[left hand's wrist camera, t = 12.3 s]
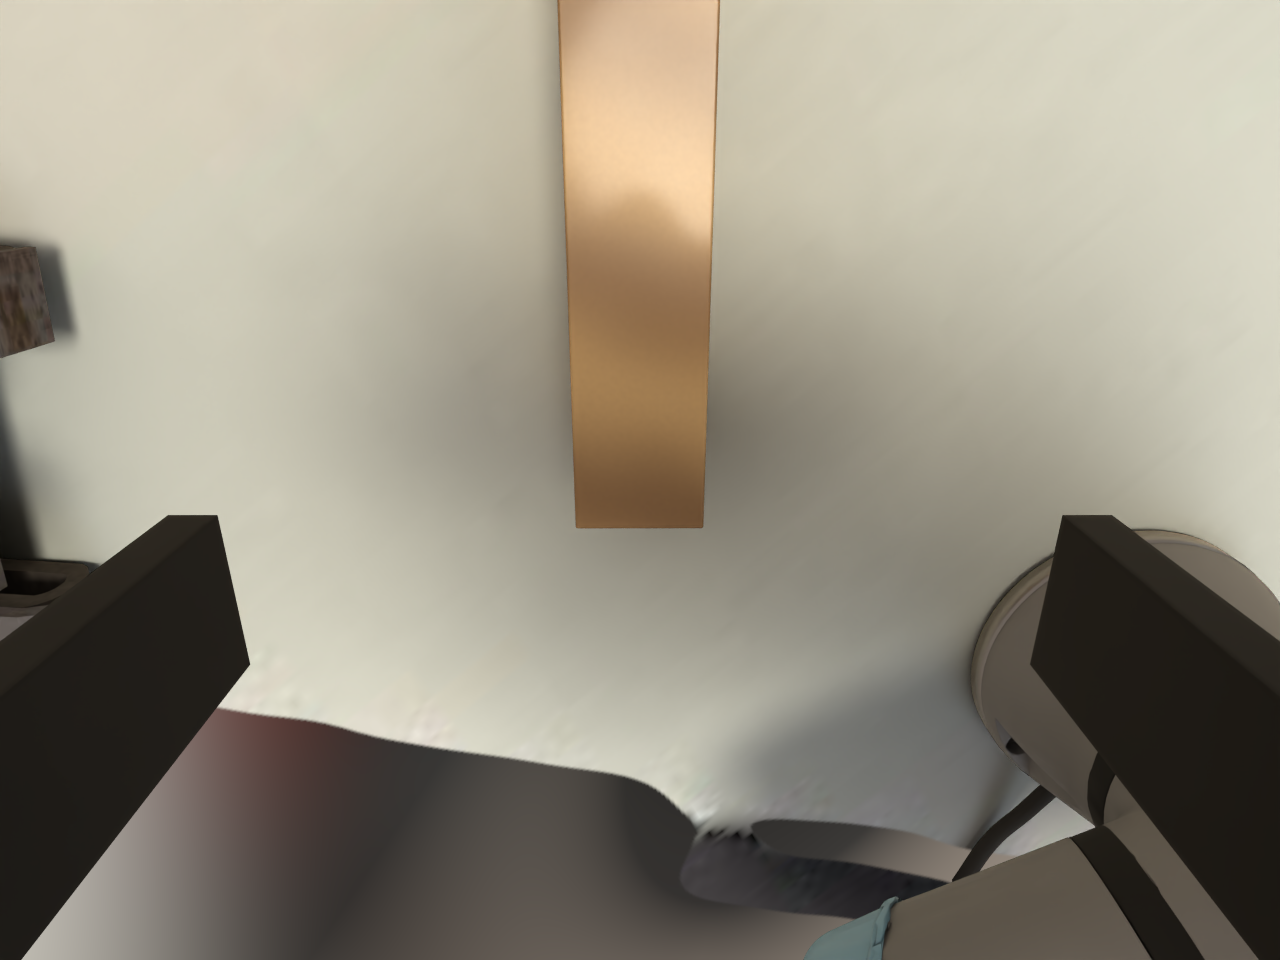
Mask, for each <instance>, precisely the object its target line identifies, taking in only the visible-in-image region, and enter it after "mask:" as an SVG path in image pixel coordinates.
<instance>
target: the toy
mask: <svg viewBox="0 0 1280 960" xmlns="http://www.w3.org/2000/svg"><path fill="white" fill-rule="evenodd" d="M54 341H55V339H54V335H53V330H52V325H51V320H50V315H49V310H48V306H47V301H46V296H45V291H44V286H43V281H42V277H41V272H40V267H39V262H38V257H37V252H36V248H35V247H21V248H14V247H11V246H1V245H0V358H3V357H6V356H9V355H12V354H16V353H19V352H22V351H25V350H28V349H32V348H35V347H38V346H41V345H44V344H48V343H51V342H54ZM88 575H89V571H88V567H87V566H85V565H84V564H77V563H62V562H46V561H31V560H16V559H0V641H1V640H2V639H4V638H5V637H6V636H8V635H9V634H10V633H12V632H13V631H14V630H16V629H17V628H18V627H20V626H21V625H22V624H24V623H25V622H26V621H28V620H29V619H30V618H32V617H33V616H34V615H36V614H37V613H38V612H40V611H41V610H42V609H44V608H45V607H46V606H48V605H49V604H50V603H52V602H53V601H54V600H56V599H57V598H58V597H60V596H61V595H62V594H64V593H65V592H66V591H68V590H69V589H70V588H72V587H73V586H74V585H76V584H77V583H78V582H80V581H81V580H82V579H84V578H85V577H86V576H88Z"/></svg>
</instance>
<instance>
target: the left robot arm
mask: <svg viewBox="0 0 1280 960" xmlns="http://www.w3.org/2000/svg"><path fill="white" fill-rule="evenodd" d="M249 665H250V661H249V657H248V652H247V648H246V643H245V639H244V634H243V630H242V625H241V620H240V616H239V611H238V607H237V602H236V598H235V593H234V589H233V584H232V579H231V575H230V570H229V566H228V561H227V557H226V552H225V548H224V543H223V538H222V534H221V529H220V525H219V520H218V516H217V515H168V516H166V517H165V518H164V519H162V520H161V521H160V522H158V523H157V524H156V525H154V526H153V527H152V528H150V529H149V530H148V531H146V532H145V533H144V534H142V535H141V536H140V537H138V538H137V539H136V540H134V541H133V542H132V543H130V544H129V545H128V546H126V547H125V548H124V549H122V550H121V551H120V552H118V553H117V554H116V555H114V556H113V557H112V558H110V559H109V560H108V561H106V562H105V563H104V564H102V565H101V566H100V567H98V568H97V569H96V570H94V571H93V572H92V573H90V574H89V575H88V576H86V577H85V578H84V579H82V580H81V581H80V582H78V583H77V584H76V585H74V586H73V587H72V588H70V589H69V590H68V591H66V592H65V593H64V594H62V595H61V596H60V597H58V598H57V599H56V600H54V601H53V602H52V603H50V604H49V605H48V606H46V607H45V608H44V609H42V610H41V611H40V612H38V613H37V614H36V615H34V616H33V617H32V618H30V619H29V620H28V621H26V622H25V623H24V624H22V625H21V626H20V627H18V628H17V629H16V630H14V631H13V632H12V633H10V634H9V635H8V636H6V637H5V638H4V639H2V640H1V641H0V960H21V959H22V958H23V957H24V956H25V954H26V953H27V952H28V950H29V949H30V948H31V946H32V945H33V944H34V943H35V941H36V940H37V939H38V937H39V936H40V935H41V934H42V932H43V931H44V930H45V928H46V927H47V926H48V925H49V923H50V922H51V921H52V919H53V918H54V917H55V916H56V914H57V913H58V912H59V910H60V909H61V908H62V906H63V905H64V904H65V903H66V901H67V900H68V899H69V897H70V896H71V895H72V894H73V892H74V891H75V890H76V888H77V887H78V886H79V885H80V883H81V882H82V881H83V879H84V878H85V877H86V876H87V874H88V873H89V872H90V870H91V869H92V868H93V867H94V865H95V864H96V863H97V861H98V860H99V859H100V857H101V856H102V855H103V854H104V852H105V851H106V850H107V848H108V847H109V846H110V845H111V843H112V842H113V841H114V839H115V838H116V837H117V836H118V834H119V833H120V832H121V830H122V829H123V828H124V827H125V825H126V824H127V823H128V821H129V820H130V819H131V817H132V816H133V815H134V814H135V812H136V811H137V810H138V808H139V807H140V806H141V805H142V803H143V802H144V801H145V799H146V798H147V797H148V796H149V794H150V793H151V792H152V790H153V789H154V788H155V787H156V785H157V784H158V783H159V781H160V780H161V779H162V777H163V776H164V775H165V774H166V772H167V771H168V770H169V768H170V767H171V766H172V765H173V763H174V762H175V761H176V759H177V758H178V757H179V755H180V754H181V753H182V752H183V750H184V749H185V748H186V747H187V745H188V744H189V743H190V741H191V740H192V739H193V738H194V736H195V735H196V734H197V732H198V731H199V730H200V728H201V727H202V726H203V725H204V723H205V722H206V721H207V719H208V718H209V717H210V716H211V714H212V713H213V712H214V710H215V709H216V708H217V707H218V705H219V704H220V703H221V701H222V700H223V699H224V698H225V696H226V695H227V694H228V692H229V691H230V690H231V688H232V687H233V686H234V685H235V683H236V682H237V681H238V679H239V678H240V677H241V676H242V674H243V673H244V672H245V670H246V669H247V668H248V667H249ZM971 688H972V694H973V699H974V703H975V706H976V708H977V711H978V713H979V715H980V717H981V719H982V721H983V723H984V725H985V726H986V728H987V729H988V731H989V733H990V734H991V736H992V737H993V739H994V740H995V742H996V743H997V745H998V746H999V747H1000V748H1001V749H1002V751H1003V752H1004V753H1005V754H1006V755H1007V756H1008V757H1009V758H1010V760H1011V761H1012V762H1013V763H1014V764H1015V765H1016V766H1017V767H1018V768H1019V769H1021V770H1022V771H1023V772H1025V773H1026V774H1027V775H1028V776H1030V777H1031V778H1032V779H1034V780H1035V781H1036V782H1038V783H1039V784H1040V786H1038V787H1037V788H1036V789H1035V790H1034V791H1033V792H1032V793H1031V794H1030V795H1029V796H1027V797H1026V798H1025V799H1024V800H1023V801H1022V802H1021V803H1020V804H1019V805H1017V806H1016V807H1015V808H1014V809H1013V810H1012V811H1010V812H1009V813H1008V814H1007V815H1005V816H1004V817H1003V818H1001V819H1000V820H999V821H998V822H997V823H995V824H994V825H993V826H992V827H991V828H990V829H989V830H988V831H987V832H986V833H985V834H984V835H983V837H982V838H981V839H980V840H979V841H978V843H977V844H976V845H975V847H974V848H973V849H972V851H971V852H970V854H969V855H968V857H967V858H966V860H965V861H964V863H963V864H962V866H961V867H960V869H959V871H958V872H957V873H956V875H955V876H954V878H953V879H952V882H951V883H949V884H946V885H944V886H941V887H938V888H936V889H933V890H931V891H928V892H926V893H923V894H920V895H917V896H915V897H912V898H909V899H906V900H904V901H903V900H902V899H900V898H898V897H893V898H890V899H888V900H886V901H884V903H883V904H882V905H881V907H880V909H878V910H875V911H873V912H871V913H869V914H867V915H864V916H862V917H860V918H858V919H856V920H853V921H851V922H849V923H847V924H844V925H842V926H840V927H838V928H836V929H833V930H831V931H829V932H827V933H826V934H824V935H823V936H821V937H820V938H818V939H817V940H816V941H815V942H814V944H813V945H812V946H811V947H810V948H809V950H808V952H807V953H806V955H805V957H804V960H1280V603H1279V601H1278V600H1277V598H1276V597H1275V595H1274V594H1273V593H1272V592H1271V590H1270V589H1269V588H1268V587H1267V586H1266V585H1265V584H1264V583H1263V582H1262V581H1261V580H1260V579H1259V578H1258V577H1257V576H1256V575H1255V574H1254V573H1253V572H1252V571H1251V570H1249V569H1248V568H1247V567H1246V566H1245V565H1243V564H1242V563H1240V562H1239V561H1237V560H1236V559H1234V558H1233V557H1231V556H1230V555H1228V554H1227V553H1225V552H1224V551H1222V550H1221V549H1219V548H1218V547H1216V546H1214V545H1212V544H1210V543H1208V542H1206V541H1203V540H1201V539H1198V538H1195V537H1192V536H1188V535H1184V534H1180V533H1174V532H1167V531H1152V530H1149V531H1132V530H1131V529H1130V528H1128V527H1127V526H1126V525H1124V524H1123V523H1122V522H1120V521H1119V520H1118V519H1116V518H1115V517H1114V516H1112V515H1063V516H1062V520H1061V525H1060V529H1059V534H1058V538H1057V543H1056V548H1055V552H1054V557H1052V558H1050V559H1049V560H1047V561H1045V562H1044V563H1042V564H1041V565H1039V566H1038V567H1036V568H1035V569H1034V570H1032V571H1031V572H1030V573H1029V574H1027V575H1026V576H1025V577H1024V578H1022V579H1021V580H1020V581H1019V582H1018V583H1017V584H1016V585H1015V586H1014V587H1013V588H1012V589H1011V590H1010V591H1009V592H1008V593H1007V594H1006V595H1005V596H1004V597H1003V599H1002V600H1001V601H1000V602H999V604H998V605H997V606H996V608H995V609H994V610H993V612H992V614H991V615H990V617H989V618H988V620H987V622H986V623H985V625H984V627H983V629H982V631H981V633H980V636H979V639H978V641H977V644H976V647H975V651H974V655H973V660H972V666H971ZM1055 797H1057V798H1059V799H1060V800H1061V801H1063V802H1064V803H1065V804H1067V805H1068V806H1069V807H1071V808H1072V809H1073V810H1075V811H1076V812H1077V813H1079V814H1080V815H1081V816H1083V817H1084V818H1085V819H1087V820H1088V821H1089V822H1091V823H1092V824H1093V825H1094V826H1095V827H1096V828H1093V829H1091V830H1088V831H1086V832H1083V833H1080V834H1078V835H1075V836H1072V837H1069V838H1065V839H1062V840H1060V841H1057V842H1055V843H1052V844H1049V845H1047V846H1044V847H1042V848H1039V849H1037V850H1034V851H1031V852H1029V853H1026V854H1024V855H1021V856H1018V857H1016V858H1013V859H1011V860H1008V861H1006V862H1003V863H1000V864H998V865H995V866H993V867H990V868H988V869H985V870H983V871H980V870H981V868H982V867H983V865H984V864H985V862H986V861H987V860H988V858H989V857H990V856H991V854H992V853H993V852H994V851H995V850H996V848H997V847H998V846H999V845H1000V844H1001V843H1002V842H1003V841H1004V840H1005V839H1006V838H1007V837H1008V836H1010V835H1011V834H1012V833H1013V832H1015V831H1016V830H1017V829H1019V828H1020V827H1021V826H1023V825H1024V824H1025V823H1026V822H1028V821H1029V820H1030V819H1031V818H1033V817H1034V816H1035V815H1036V814H1037V813H1038V812H1039V811H1041V810H1042V809H1043V808H1044V807H1045V806H1046V805H1047V804H1048V803H1050V802H1051V801H1052V800H1053V799H1054V798H1055ZM979 871H980V872H979Z"/></svg>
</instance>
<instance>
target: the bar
mask: <svg viewBox="0 0 1280 960" xmlns="http://www.w3.org/2000/svg"><path fill="white" fill-rule="evenodd" d="M557 3H558V31H559V60H560V89H561V117H562V146H563V175H564V203H565V232H566V261H567V290H568V318H569V347H570V376H571V404H572V433H573V462H574V491H575V519H576V528H703V519H704V488H705V457H706V425H707V394H708V363H709V331H710V300H711V269H712V238H713V206H714V175H715V144H716V112H717V81H718V50H719V18H720V0H557Z"/></svg>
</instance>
